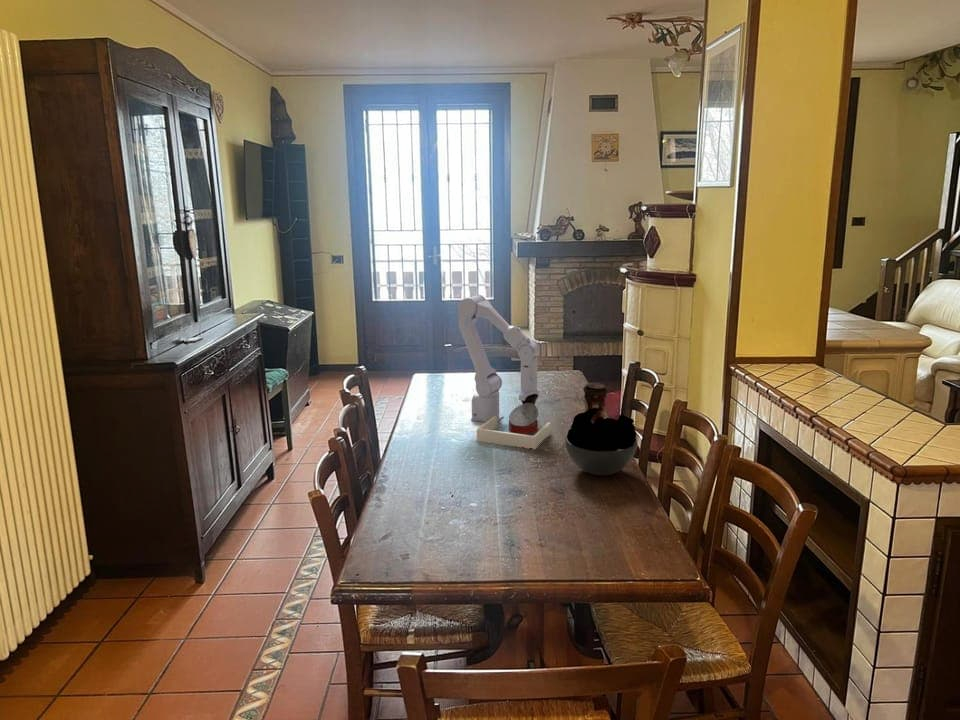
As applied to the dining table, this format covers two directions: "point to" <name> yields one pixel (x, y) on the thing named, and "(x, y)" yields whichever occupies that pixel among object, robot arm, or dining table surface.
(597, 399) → the coffee cup
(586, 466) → the bowl of black rocks
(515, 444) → the box
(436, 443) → the dining table surface
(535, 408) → the canned food
